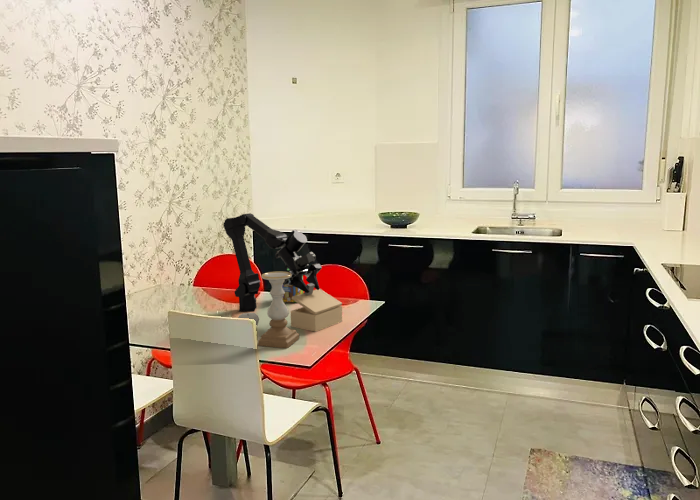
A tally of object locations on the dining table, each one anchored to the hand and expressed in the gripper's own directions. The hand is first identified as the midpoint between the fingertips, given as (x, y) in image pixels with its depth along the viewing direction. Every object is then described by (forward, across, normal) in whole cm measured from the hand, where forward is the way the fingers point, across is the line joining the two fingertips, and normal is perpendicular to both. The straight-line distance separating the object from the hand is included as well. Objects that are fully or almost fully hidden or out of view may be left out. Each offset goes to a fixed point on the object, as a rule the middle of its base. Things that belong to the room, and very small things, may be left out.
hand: (313, 290), depth 216 cm
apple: (-1, -20, +19) cm, 28 cm away
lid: (+4, 0, +2) cm, 4 cm away
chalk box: (-13, +22, +32) cm, 41 cm away
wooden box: (+10, 0, +8) cm, 13 cm away
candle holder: (+12, -24, +6) cm, 28 cm away
